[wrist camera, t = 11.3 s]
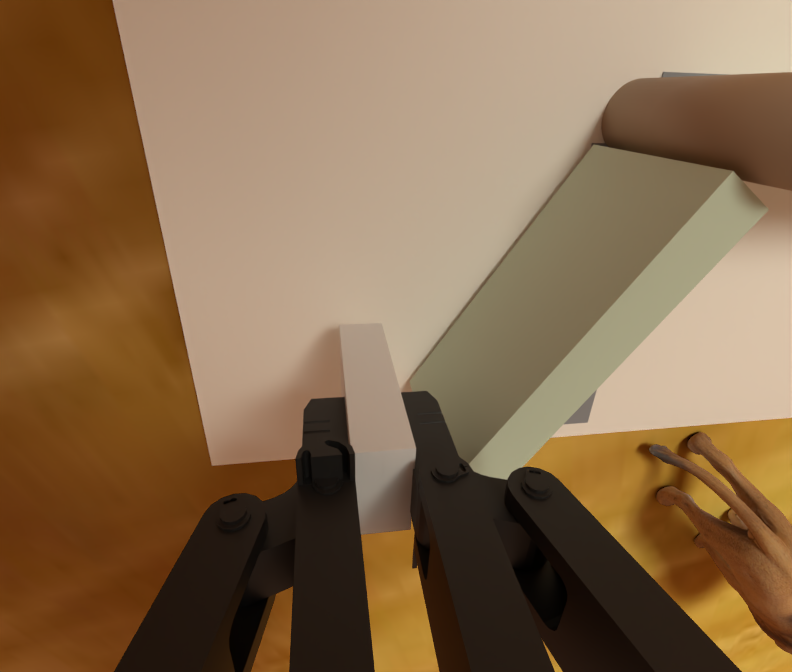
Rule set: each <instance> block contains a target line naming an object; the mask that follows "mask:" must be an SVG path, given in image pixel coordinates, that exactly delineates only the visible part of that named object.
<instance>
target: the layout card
mask: <svg viewBox="0 0 792 672" xmlns="http://www.w3.org/2000/svg"><path fill="white" fill-rule="evenodd" d="M112 1H113V5H114V10H115V15H116V20H117V24H118V29H119V34H120V38H121V43H122V48H123V52H124V57H125V62H126V66H127V71H128V76H129V80H130V85H131V90H132V94H133V99H134V104H135V108H136V113H137V118H138V122H139V127H140V132H141V136H142V141H143V146H144V150H145V155H146V160H147V164H148V169H149V174H150V179H151V183H152V188H153V193H154V197H155V202H156V207H157V211H158V216H159V221H160V225H161V230H162V235H163V239H164V244H165V249H166V253H167V258H168V263H169V267H170V272H171V277H172V281H173V286H174V291H175V295H176V300H177V305H178V309H179V314H180V319H181V323H182V328H183V333H184V337H185V342H186V347H187V352H188V356H189V361H190V366H191V370H192V375H193V380H194V384H195V389H196V394H197V398H198V403H199V408H200V412H201V417H202V422H203V426H204V431H205V436H206V440H207V445H208V450H209V454H210V459H211V464H212V466H215V465H227V464H239V463H251V462H263V461H276V460H288V459H295V458H296V455H297V452H298V450H299V449H300V448H301V447H302V436H303V413H304V409H305V407H306V406H307V404H308V403H309V401H310V400H311V399H317V398H333V397H342V395H341V369H340V332H339V325H342V324H369V323H382V326H383V330H384V334H385V337H386V341H387V344H388V348H389V352H390V355H391V359H392V362H393V366H394V370H395V373H396V377H397V381H398V384H399V388H400V391H401V392H413V391H412V388H411V385H410V380H411V379H412V378H413V376H414V375H415V374H416V373H417V371H418V370H419V369H420V367H421V366H422V365H423V363H424V362H425V361H426V360H427V358H428V357H429V356H430V354H431V353H432V352H433V351H434V349H435V348H436V347H437V345H438V344H439V343H440V342H441V340H442V339H443V338H444V336H445V335H446V334H447V333H448V331H449V330H450V329H451V327H452V326H453V325H454V324H455V322H456V321H457V320H458V318H459V317H460V316H461V315H462V313H463V312H464V311H465V309H466V308H467V307H468V306H469V304H470V303H471V302H472V300H473V299H474V298H475V297H476V295H477V294H478V293H479V291H480V290H481V289H482V288H483V286H484V285H485V284H486V282H487V281H488V280H489V279H490V277H491V276H492V275H493V273H494V272H495V271H496V270H497V268H498V267H499V266H500V264H501V263H502V262H503V261H504V259H505V258H506V257H507V255H508V254H509V253H510V252H511V250H512V249H513V248H514V246H515V245H516V244H517V243H518V241H519V240H520V239H521V237H522V236H523V235H524V234H525V232H526V231H527V230H528V228H529V227H530V226H531V225H532V223H533V222H534V221H535V219H536V218H537V217H538V215H539V214H540V213H541V212H542V210H543V209H544V208H545V206H546V205H547V204H548V203H549V201H550V200H551V199H552V197H553V196H554V195H555V194H556V192H557V191H558V190H559V188H560V187H561V186H562V185H563V183H564V182H565V181H566V179H567V178H568V177H569V176H570V174H571V173H572V172H573V170H574V169H575V168H576V167H577V165H578V164H579V163H580V161H581V160H582V159H583V158H584V156H585V155H586V154H587V152H588V151H589V150H590V149H591V147H592V146H593V145H599V146H605V147H608V146H607V144H606V143H605V142H604V139H603V136H602V129H601V126H602V117H603V114H604V111H605V108H606V106H607V104H608V102H609V100H610V99H611V97H612V96H613V95H614V93H615V92H616V91H617V90H618V89H619V88H621V87H622V86H623V85H625V84H626V83H628V82H630V81H632V80H635V79H640V78H661V77H685V76H709V75H733V74H757V73H781V72H792V0H112ZM743 182H744V183H745V184H746V185H747V186H748V188H749V189H750V190H751V191H752V192H753V193H754V194H755V195H756V196H757V197H758V198H759V199H760V200H761V202H762V203H763V204H764V205H765V206H766V207H767V208H768V209H769V210H768V211H767V212H766V213H765V214H764V215H763V217H762V218H761V219H760V220H759V221H758V222H757V223H756V224H755V225H754V226H753V227H752V228H751V229H750V230H749V231H748V232H747V233H746V234H745V235H744V236H743V237H742V238H741V239H740V241H739V242H738V243H737V244H736V245H735V246H734V247H733V248H732V249H731V250H730V251H729V252H728V253H727V254H726V255H725V256H724V257H723V258H722V259H721V260H720V261H719V262H718V263H717V265H716V266H715V267H714V268H713V269H712V270H711V271H710V272H709V273H708V274H707V275H706V276H705V277H704V278H703V279H702V280H701V281H700V282H699V283H698V284H697V285H696V286H695V288H694V289H693V290H692V291H691V292H690V293H689V294H688V295H687V296H686V297H685V298H684V299H683V300H682V301H681V302H680V303H679V304H678V305H677V306H676V307H675V308H674V309H673V310H672V312H671V313H670V314H669V315H668V316H667V317H666V318H665V319H664V320H663V321H662V322H661V323H660V324H659V325H658V326H657V327H656V328H655V329H654V330H653V331H652V332H651V333H650V334H649V336H648V337H647V338H646V339H645V340H644V341H643V342H642V343H641V344H640V345H639V346H638V347H637V348H636V349H635V350H634V351H633V352H632V353H631V354H630V355H629V356H628V357H627V358H626V360H625V361H624V362H623V363H622V364H621V365H620V366H619V367H618V368H617V369H616V370H615V371H614V372H613V373H612V374H611V375H610V376H609V377H608V378H607V379H606V380H605V381H604V382H603V384H602V385H601V386H600V387H599V388H598V389H597V390H596V391H595V392H594V393H593V394H592V395H591V396H590V397H589V398H588V399H587V400H586V401H585V402H584V403H583V404H582V405H581V406H580V408H579V409H578V410H577V411H576V412H575V413H574V414H573V415H572V416H571V417H570V418H569V419H568V420H567V421H566V422H565V423H564V424H563V425H562V426H561V427H560V428H559V429H558V430H557V432H556V433H555V434H554V435H553V436H552V437H564V436H576V435H588V434H600V433H612V432H624V431H636V430H648V429H660V428H672V427H684V426H696V425H708V424H720V423H732V422H744V421H756V420H768V419H780V418H792V191H790V190H785V189H780V188H775V187H771V186H766V185H761V184H756V183H752V182H747V181H743ZM552 437H551V438H552Z"/></svg>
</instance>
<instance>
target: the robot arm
mask: <svg viewBox="0 0 792 672" xmlns="http://www.w3.org/2000/svg"><path fill="white" fill-rule="evenodd" d="M339 332H340V369H341V395H342V397H333V398H317V399H311V400H310V401H309V403H308V404H307V406H306V407H305V409H304V413H303V436H302V447H301V448H300V449H299V450H298V452H297V455H296V458H295V459H296V470H297V482H296V483H295V484H294V485H293V487H292V488H291V489H289V490H288V491H286V492H285V493H283V494H281V495H279V496H277V497H274V498H272V499H269V500H266V501H263V502H262V501H261V500H260V499H259V498H258V497H256V496H254V495H250V494H247V493H241V494H232V495H229V496H226V497H223V498H221V499H219V500H218V501H216V502H215V503H213V504H212V505H211V506H210V507H209V508H208V509H207V511H206V512H205V513H204V514H203V516H202V518H201V520H200V521H199V523H198V525H197V527H196V528H195V530H194V532H193V534H192V535H191V537H190V539H189V541H188V543H187V544H186V546H185V548H184V550H183V551H182V553H181V555H180V557H179V558H178V560H177V562H176V564H175V565H174V567H173V569H172V571H171V572H170V574H169V576H168V578H167V579H166V581H165V583H164V585H163V586H162V588H161V590H160V592H159V594H158V595H157V597H156V599H155V601H154V602H153V604H152V606H151V608H150V609H149V611H148V613H147V615H146V616H145V618H144V620H143V622H142V623H141V625H140V627H139V629H138V630H137V632H136V634H135V636H134V638H133V639H132V641H131V643H130V645H129V646H128V648H127V650H126V652H125V653H124V655H123V657H122V659H121V660H120V662H119V664H118V666H117V667H116V669H115V671H114V672H251V669H252V666H253V663H254V660H255V657H256V654H257V651H258V648H259V645H260V642H261V639H262V636H263V633H264V630H265V627H266V624H267V621H268V618H269V615H270V612H271V609H272V606H273V603H274V600H275V596H276V594H277V593H279V592H281V591H283V590H286V589H288V588H290V587H292V586H293V603H292V625H291V646H290V668H289V672H375V670H374V660H373V650H372V640H371V630H370V620H369V610H368V600H367V591H366V581H365V571H364V561H363V551H362V541H361V535H362V534H371V533H381V532H390V531H400V530H410V529H411V517H412V522H413V527H414V531H415V535H414V548H413V563H412V568H417V565H418V570H419V575H420V580H421V585H422V589H423V594H424V599H425V604H426V609H427V614H428V618H429V623H430V628H431V633H432V638H433V642H434V647H435V652H436V657H437V662H438V667H439V671H440V672H555V671H554V668H553V666H552V663H551V661H550V659H549V656H548V654H547V651H546V649H545V646H544V644H543V641H544V643H545V645H546V646H547V648H548V649H549V651H550V652H551V654H552V655H553V657H554V658H555V660H556V662H557V663H558V665H559V666H560V668H561V669H562V671H563V672H742V671H741V670H740V669H739V668H738V667H737V666H736V665H735V664H734V663H733V662H732V661H731V660H730V659H729V658H728V657H727V656H726V655H725V654H724V653H723V652H722V650H721V649H720V648H719V647H718V646H717V645H716V644H715V643H714V642H713V641H712V640H711V639H710V638H709V637H708V636H707V635H706V634H705V633H704V632H703V631H702V630H701V628H700V627H699V626H698V625H697V624H696V623H695V622H694V621H693V620H692V619H691V618H690V617H689V616H688V615H687V614H686V613H685V612H684V611H683V610H682V609H681V608H680V606H679V605H678V604H677V603H676V602H675V601H674V600H673V599H672V598H671V597H670V596H669V595H668V594H667V593H666V592H665V591H664V590H663V589H662V588H661V587H660V585H659V584H658V583H657V582H656V581H655V580H654V579H653V578H652V577H651V576H650V575H649V574H648V573H647V572H646V571H645V570H644V569H643V568H642V567H641V566H640V565H639V563H638V562H637V561H636V560H635V559H634V558H633V557H632V556H631V555H630V554H629V553H628V552H627V551H626V550H625V549H624V548H623V547H622V546H621V545H620V544H619V542H618V541H617V540H616V539H615V538H614V537H613V536H612V535H611V534H610V533H609V532H608V531H607V530H606V529H605V528H604V527H603V526H602V525H601V524H600V523H599V522H598V520H597V519H596V518H595V517H594V516H593V515H592V514H591V513H590V512H589V511H588V510H587V509H586V508H585V507H584V506H583V505H582V504H581V503H580V502H579V501H578V499H577V498H576V497H575V496H574V495H573V494H572V493H571V492H570V491H569V490H568V489H567V488H566V487H565V486H564V485H563V484H562V483H561V482H560V481H559V480H558V479H557V478H556V477H555V476H553V475H552V474H551V473H549V472H547V471H544V470H542V469H540V468H534V467H523V468H518V469H516V470H514V471H513V472H511V474H510V476H509V477H508V480H506V479H500V478H494V477H489V476H485V475H481V474H479V473H476V472H474V471H473V470H472V468H471V467H470V465H469V464H468V463H467V462H466V461H464V460H463V459H462V458H460V457H459V455H458V453H457V450H456V447H455V445H454V442H453V440H452V437H451V434H450V432H449V429H448V427H447V424H446V423H445V419H444V416H443V414H442V411H441V409H440V406H439V403H438V401H437V400H436V399H435V398H434V397H433V396H432V395H431V394H430V393H429V392H428V391H416V392H401V391H400V388H399V384H398V381H397V377H396V373H395V370H394V366H393V362H392V359H391V355H390V352H389V348H388V344H387V341H386V337H385V334H384V330H383V326H382V323H369V324H342V325H339ZM541 638H542V639H541ZM542 640H543V641H542Z"/></svg>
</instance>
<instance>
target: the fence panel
mask: <svg viewBox="0 0 792 672" xmlns="http://www.w3.org/2000/svg"><path fill="white" fill-rule="evenodd" d="M768 210H769V209H768V208H767V207H766V206H765V205H764V204H763V203H762V202H761V200H760V199H759V198H758V197H757V196H756V195H755V194H754V193H753V192H752V191H751V190H750V189H749V188H748V186H747V185H746V184H745V183H744V182H743V181H742V180H741V179H740V178H739V177H738V176H737V175H736V174H735V172H734V171H730V170H725V169H720V168H715V167H709V166H704V165H699V164H694V163H688V162H683V161H678V160H673V159H667V158H662V157H657V156H652V155H647V154H641V153H636V152H631V151H626V150H620V149H615V148H610V147H605V146H599V145H593V146H592V147H591V149H590V150H589V151H588V152H587V154H586V155H585V156H584V158H583V159H582V160H581V161H580V163H579V164H578V165H577V167H576V168H575V169H574V170H573V172H572V173H571V174H570V176H569V177H568V178H567V179H566V181H565V182H564V183H563V185H562V186H561V187H560V188H559V190H558V191H557V192H556V194H555V195H554V196H553V197H552V199H551V200H550V201H549V203H548V204H547V205H546V206H545V208H544V209H543V210H542V212H541V213H540V214H539V215H538V217H537V218H536V219H535V221H534V222H533V223H532V225H531V226H530V227H529V228H528V230H527V231H526V232H525V234H524V235H523V236H522V237H521V239H520V240H519V241H518V243H517V244H516V245H515V246H514V248H513V249H512V250H511V252H510V253H509V254H508V255H507V257H506V258H505V259H504V261H503V262H502V263H501V264H500V266H499V267H498V268H497V270H496V271H495V272H494V273H493V275H492V276H491V277H490V279H489V280H488V281H487V282H486V284H485V285H484V286H483V288H482V289H481V290H480V291H479V293H478V294H477V295H476V297H475V298H474V299H473V300H472V302H471V303H470V304H469V306H468V307H467V308H466V309H465V311H464V312H463V313H462V315H461V316H460V317H459V318H458V320H457V321H456V322H455V324H454V325H453V326H452V327H451V329H450V330H449V331H448V333H447V334H446V335H445V336H444V338H443V339H442V340H441V342H440V343H439V344H438V345H437V347H436V348H435V349H434V351H433V352H432V353H431V354H430V356H429V357H428V358H427V360H426V361H425V362H424V363H423V365H422V366H421V367H420V369H419V370H418V371H417V373H416V374H415V375H414V376H413V378H412V379H411V380H410V385H411V388H412V391H413V392H416V391H428V392H429V393H430V394H431V395H432V396H433V397H434V398H435V399H436V400H437V401H438V403H439V406H440V409H441V411H442V414H443V416H444V419H445V423H446V424H447V427H448V429H449V432H450V434H451V437H452V440H453V442H454V445H455V447H456V450H457V453H458V455H459V457H460V458H462V459H463V460H464V461H466V462H467V463H468V464H469V465H470V467H471V468H472V470H473V471H474V472H476V473H479V474H481V475H485V476H489V477H494V478H500V479H506V480H508V477H509V476H510V474H511V472H513V471H514V470H516V469H518V468H522V467H523V466H524V465H525V464H526V463H527V462H528V461H529V460H530V459H531V458H532V457H533V456H534V454H535V453H536V452H537V451H538V450H539V449H540V448H541V447H542V446H543V445H544V444H545V443H546V442H547V441H548V440H549V439H550V438H551V437H552V436H553V435H554V434H555V433H556V432H557V430H558V429H559V428H560V427H561V426H562V425H563V424H564V423H565V422H566V421H567V420H568V419H569V418H570V417H571V416H572V415H573V414H574V413H575V412H576V411H577V410H578V409H579V408H580V406H581V405H582V404H583V403H584V402H585V401H586V400H587V399H588V398H589V397H590V396H591V395H592V394H593V393H594V392H595V391H596V390H597V389H598V388H599V387H600V386H601V385H602V384H603V382H604V381H605V380H606V379H607V378H608V377H609V376H610V375H611V374H612V373H613V372H614V371H615V370H616V369H617V368H618V367H619V366H620V365H621V364H622V363H623V362H624V361H625V360H626V358H627V357H628V356H629V355H630V354H631V353H632V352H633V351H634V350H635V349H636V348H637V347H638V346H639V345H640V344H641V343H642V342H643V341H644V340H645V339H646V338H647V337H648V336H649V334H650V333H651V332H652V331H653V330H654V329H655V328H656V327H657V326H658V325H659V324H660V323H661V322H662V321H663V320H664V319H665V318H666V317H667V316H668V315H669V314H670V313H671V312H672V310H673V309H674V308H675V307H676V306H677V305H678V304H679V303H680V302H681V301H682V300H683V299H684V298H685V297H686V296H687V295H688V294H689V293H690V292H691V291H692V290H693V289H694V288H695V286H696V285H697V284H698V283H699V282H700V281H701V280H702V279H703V278H704V277H705V276H706V275H707V274H708V273H709V272H710V271H711V270H712V269H713V268H714V267H715V266H716V265H717V263H718V262H719V261H720V260H721V259H722V258H723V257H724V256H725V255H726V254H727V253H728V252H729V251H730V250H731V249H732V248H733V247H734V246H735V245H736V244H737V243H738V242H739V241H740V239H741V238H742V237H743V236H744V235H745V234H746V233H747V232H748V231H749V230H750V229H751V228H752V227H753V226H754V225H755V224H756V223H757V222H758V221H759V220H760V219H761V218H762V217H763V215H764V214H765V213H766V212H767V211H768Z"/></svg>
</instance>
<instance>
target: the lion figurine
mask: <svg viewBox="0 0 792 672" xmlns="http://www.w3.org/2000/svg"><path fill="white" fill-rule="evenodd" d="M688 448H689V449H690V450H691V451H692V452H693V453H695V454H699V455H700V454H701V455H702V456H704V457H705V458H706V459H707V460H708V461H709V462H710V464H711V465H712V466H713V467H714V468H715V469H716V470H717V471H718V472H719V473H720V474H721V475H722V476H723V477H724V478H725V479H726V480H727V481H728V482H729V483H730V484H731V486H732V488H733V489H734V491H735V492H736V495H737V496H736V495H735V494H734V493H733V492H732V491H731V490H730V489H729V488H728V487H726V486H725V485H724V484H723V483H722V482H721V481H720V480H718V479H717V478H716V477H714V476H713V475H712V474H710V473H709V472H707V471H706V470H704V469H702V468H701V467H699V466H697V465H696V464H694V463H692V462H690V461H689V460H687V459H684V458H682V457H680V456H678V455H676V454H674V453H673V452H671V451H670V450H669V449H668V448H667V447H666V446H660V445H657V444H656V445H652V446H651V447H650V448H649V451H650V453H651V454H653V455H654V456H656V457H658V458H659V459H661V460H662V461H663V462H665V463H667V464H671V465H674V466H677V467H680V468H682V469H684V470H686V471H688V472H690V473H691V474H693V475H694V476H696V477H697V478H698V479H700V480H701V481H702V482H703V483H705V484H706V485H707V486H708V487H709V488H710V489H712V490H713V491H714V492H715V493H716V494H717V495H718V496H719V497H720V498H721V499H722V500H723V501H724V502H725V503H727V504H728V505H729V506H730V507H731V508H732V509H730V510H729V512H728V516H729V520H730V522H731V524H730V523H727V522H725V521H722V520H720V519H718V518H716V517H714V516H712V515H711V514H709V513H707V512H705V511H703V510H702V509H700V508H699V507H698V506H697V505H696V503H695V502H694V500H693V498H692V497H691V496H690V495H688V494H686V493H684V492H682V491H680V490H678V489H677V488H675V487H673V486H670V487H665V488H663V489H661V490H659V491H658V493H657V496H656V499H657V501H658V502H659V503H660V504H662V505H666V506H670V505H673V504H676V505H677V506H678V507H679V508H681V509H682V510H683V511H684V513H685V514H686V515H687V516H688V517H689V519H690V520H691V521H692V523H693V524H694V525H695V527H696V528H697V530H698V531H699V532H700V534H699V535H698V536H697V537H696V539H695V540H694V542H695V544H696V546H697V547H699V548H705V549H706V550H707V551H708V553H709V554H710V555H711V557H712V559H713V561H714V562H715V564H716V565H717V567H718V568H719V569H720V571H721V572H722V574H723V575H724V577H725V578H726V580H727V581H728V583H729V584H730V585H731V586H732V587H733V588H734V589H735V590H736V591H737V592H738V593H739V594H740V596H741V597H742V598H743V600H744V601H745V602H746V604H747V605H748V608H749V610H750V611H751V613H752V615H753V617H754V619H755V621H756V622H757V624H758V625H759V626H760V628H761V629H762V630H763V631H764V632H765V633H766V634H767V635H768V636H769V637H770V638H772V639H773V640H774V641H775V643H776V645H777V646H778V647H780V648H781V649H782V650H784V651H786V652H788V653H790V654H792V526H791V524H790V523H789V521H788V520H787V519H786V517H785V516H784V515H783V513H782V512H781V511H780V510H779V509H778V508H777V507H776V506H775V505H774V504H772V503H771V502H770V501H769V500H767V499H766V498H765V497H764V495H763V494H762V493H761V492H760V491H759V490H758V489H757V488H756V487H755V486H754V485H752V484H751V483H750V482H749V481H748V480H747V479H746V478H745V477H744V476H743V475H742V474H741V472H740V471H739V470H738V469H737V468H736V466H735V465H734V463H733V462H732V460H731V459H730V458H729V457H728V456H727V455H726V454H724V453H723V452H721V451H720V450H718V449H717V448H716V447H715V446H714V445H713V444H712V443H711V439H710V438H709V437H708V436H707V435H706V434H705V433H702V432H699V433H697V434H695V435H694V436H692V437H691V438H690V439H689V441H688Z"/></svg>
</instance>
